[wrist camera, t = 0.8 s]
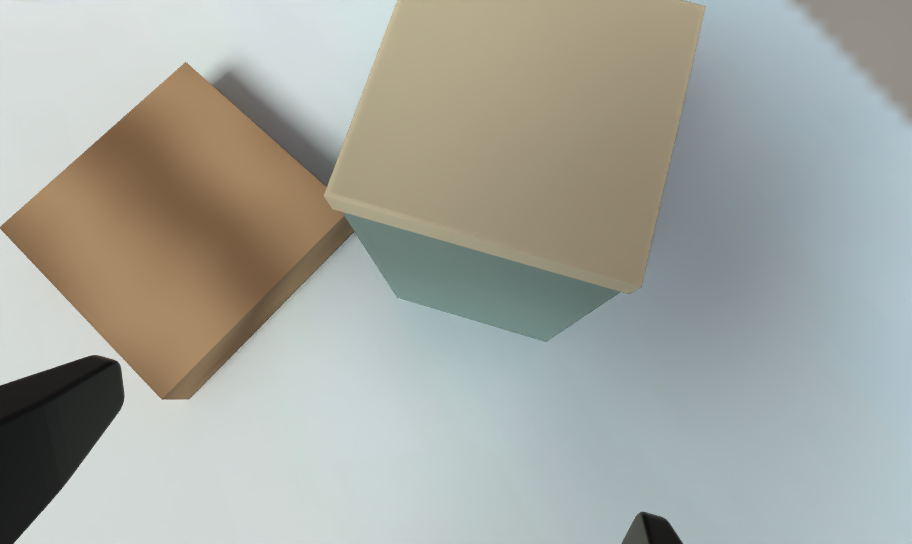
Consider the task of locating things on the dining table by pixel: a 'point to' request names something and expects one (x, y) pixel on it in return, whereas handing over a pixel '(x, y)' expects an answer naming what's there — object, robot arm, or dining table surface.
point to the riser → (179, 232)
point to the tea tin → (516, 153)
